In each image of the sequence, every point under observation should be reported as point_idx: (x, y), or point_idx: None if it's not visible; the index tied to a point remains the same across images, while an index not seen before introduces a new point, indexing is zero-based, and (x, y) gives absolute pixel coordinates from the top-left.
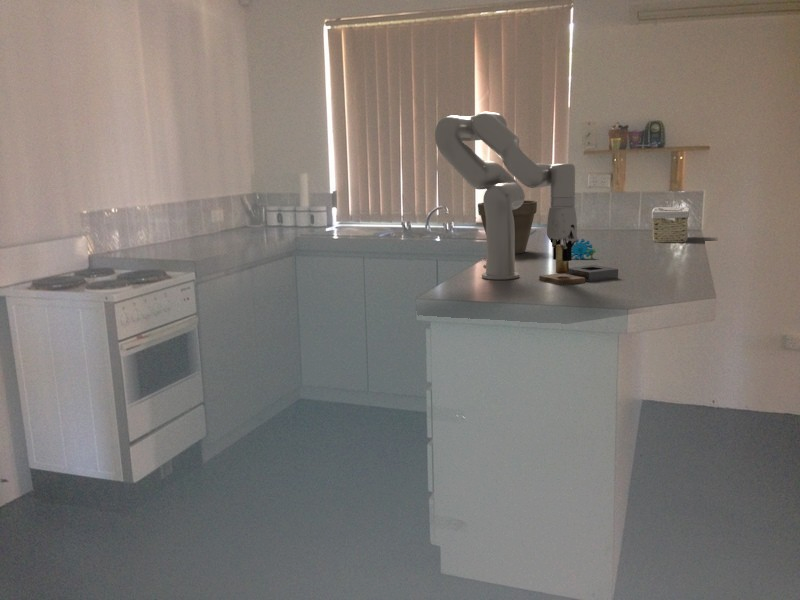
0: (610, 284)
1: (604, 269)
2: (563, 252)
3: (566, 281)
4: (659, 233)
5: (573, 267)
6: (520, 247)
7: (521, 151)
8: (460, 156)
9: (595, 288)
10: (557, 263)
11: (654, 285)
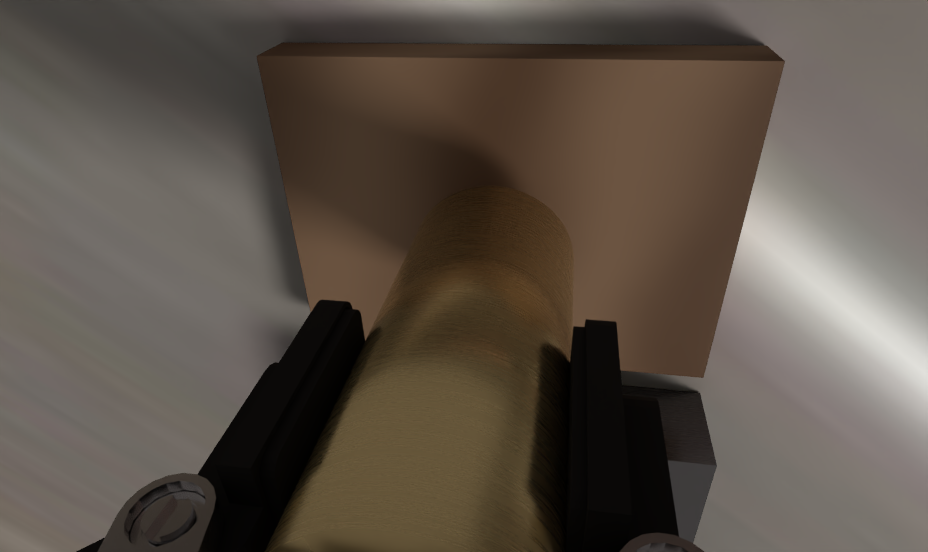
0: (177, 381)
1: None
2: (255, 404)
3: (276, 116)
4: None
5: (679, 522)
6: None
7: None
8: None
9: (26, 189)
10: (462, 255)
11: (71, 500)
